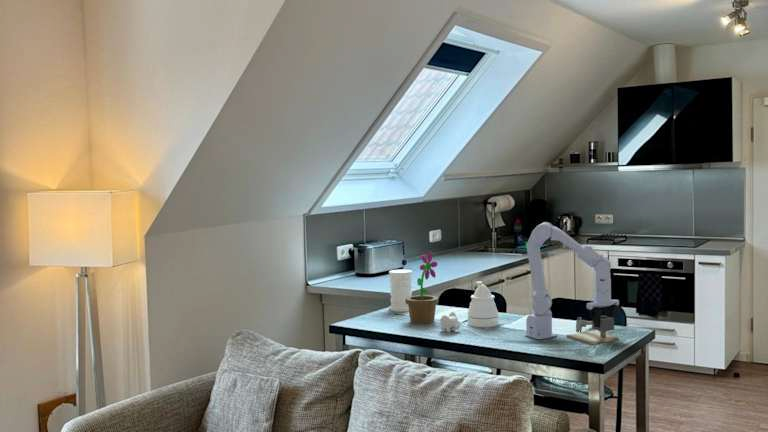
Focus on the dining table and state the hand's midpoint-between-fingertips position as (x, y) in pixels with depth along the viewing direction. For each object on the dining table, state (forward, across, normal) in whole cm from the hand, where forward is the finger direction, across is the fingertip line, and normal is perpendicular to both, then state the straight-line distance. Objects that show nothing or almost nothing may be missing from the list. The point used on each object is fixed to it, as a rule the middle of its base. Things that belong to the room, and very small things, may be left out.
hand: (603, 325), depth 279 cm
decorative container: (+5, -34, +94) cm, 101 cm away
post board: (+5, -2, +4) cm, 7 cm away
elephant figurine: (+5, -40, +44) cm, 60 cm away
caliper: (+6, +9, +17) cm, 20 cm away
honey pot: (+5, -21, +48) cm, 53 cm away
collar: (+1, 0, 0) cm, 1 cm away
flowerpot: (+5, -40, +66) cm, 77 cm away
